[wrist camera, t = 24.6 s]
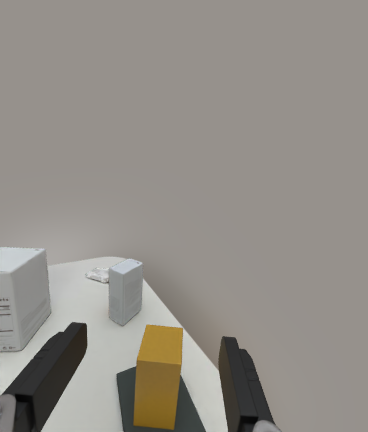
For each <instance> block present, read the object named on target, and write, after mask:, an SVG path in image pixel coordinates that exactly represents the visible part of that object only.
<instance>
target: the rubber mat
mask: <svg viewBox="0 0 368 432" xmlns="http://www.w3.org/2000/svg"><path fill="white" fill-rule="evenodd" d="M135 384H136V367H133V368H130V369H128V370H125V371H123V372H120V373H118V374H117V385H118V393H119V400H120V408H121V415H122V423H123V430H124V432H206V431H205V429H204V426H203V424H202V422H201V420H200V417H199V415H198V413H197V411H196V408H195V406H194V404H193V402H192V399H191V397H190V395H189V393H188V390H187V388H186V386H185V383H184V381H183V379H182V377H181V374H180V382H179V390H178V399H177V407H176V416H175V424H174V430H172V429H162V428H152V427H143V426H134V425H133V423H134V404H135Z"/></svg>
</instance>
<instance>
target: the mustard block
mask: <svg viewBox="0 0 368 432" xmlns="http://www.w3.org/2000/svg"><path fill="white" fill-rule="evenodd" d="M182 337H183V328H176V327H166V326H156V325H146V329H145V332H144V336H143V340H142V343H141V347H140V350H139V354H138V357H137V365H136V384H135V404H134V423H133V425H134V426H143V427H152V428H162V429H172V430H174V424H175V416H176V407H177V399H178V390H179V382H180V373H181V365H182Z"/></svg>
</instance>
